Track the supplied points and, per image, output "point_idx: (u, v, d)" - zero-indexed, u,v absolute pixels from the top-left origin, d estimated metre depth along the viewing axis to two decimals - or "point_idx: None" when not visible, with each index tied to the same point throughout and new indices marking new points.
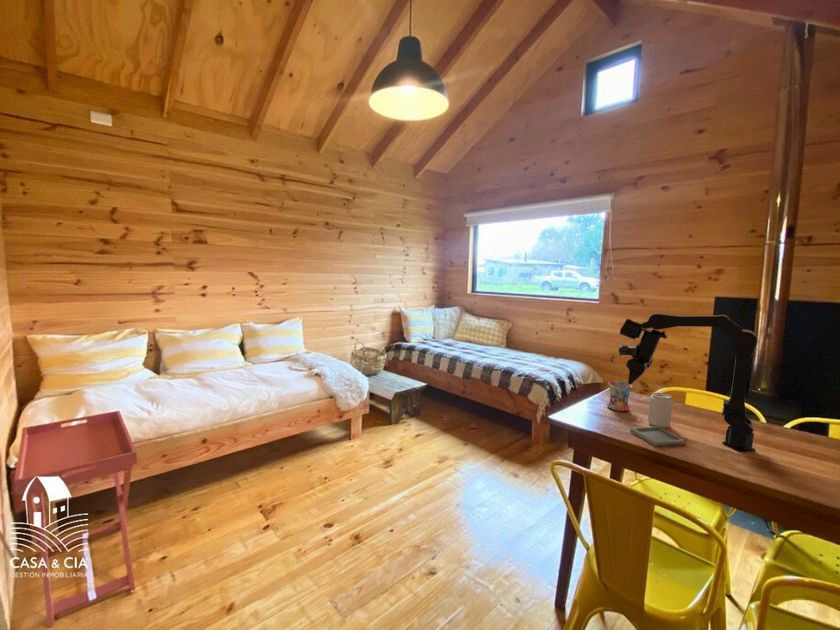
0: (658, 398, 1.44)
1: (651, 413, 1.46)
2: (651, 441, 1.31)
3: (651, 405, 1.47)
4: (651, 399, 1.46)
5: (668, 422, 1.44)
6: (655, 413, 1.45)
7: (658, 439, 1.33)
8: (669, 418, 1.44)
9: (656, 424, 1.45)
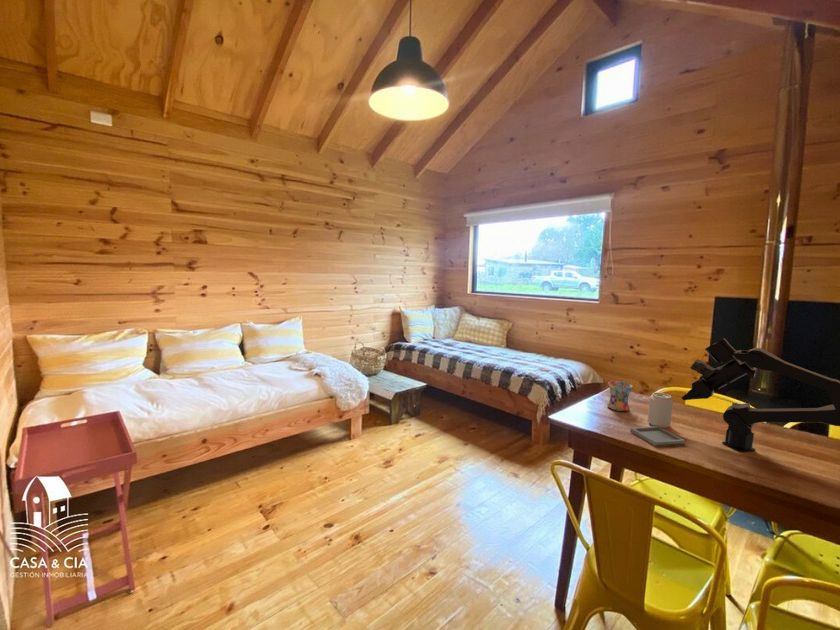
0: (658, 398, 1.44)
1: (651, 413, 1.46)
2: (651, 441, 1.31)
3: (651, 405, 1.47)
4: (651, 399, 1.46)
5: (668, 422, 1.44)
6: (655, 413, 1.45)
7: (658, 439, 1.33)
8: (669, 418, 1.44)
9: (656, 424, 1.45)
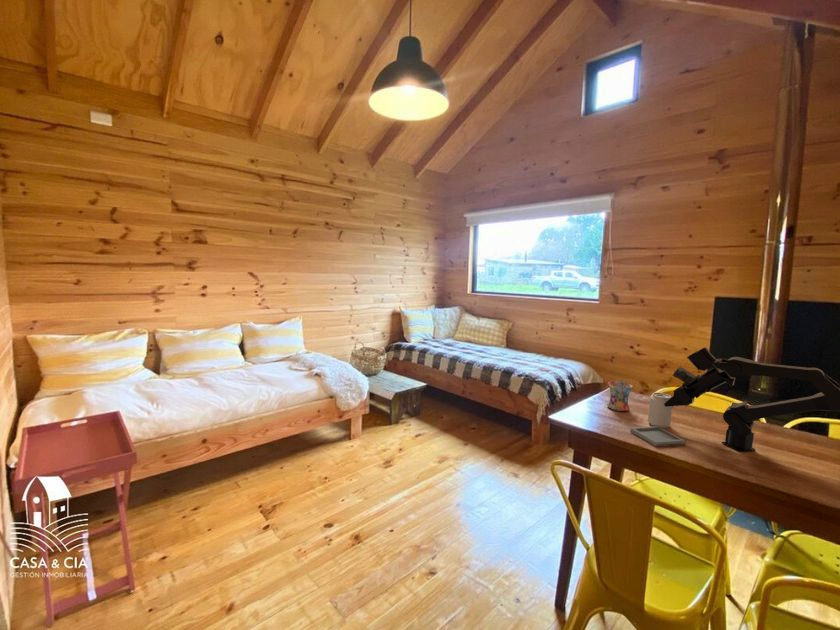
0: (658, 398, 1.44)
1: (651, 413, 1.46)
2: (651, 441, 1.31)
3: (651, 405, 1.47)
4: (651, 399, 1.46)
5: (668, 422, 1.44)
6: (655, 413, 1.45)
7: (658, 439, 1.33)
8: (669, 418, 1.44)
9: (656, 424, 1.45)
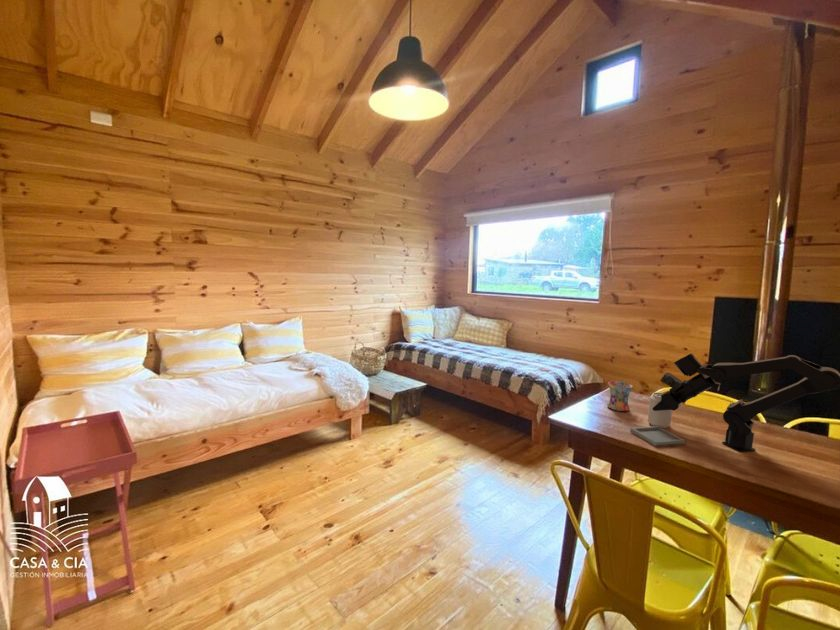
0: (658, 398, 1.44)
1: (651, 413, 1.46)
2: (651, 441, 1.31)
3: (651, 405, 1.47)
4: (651, 399, 1.46)
5: (668, 422, 1.44)
6: (655, 413, 1.45)
7: (658, 439, 1.33)
8: (669, 418, 1.44)
9: (656, 424, 1.45)
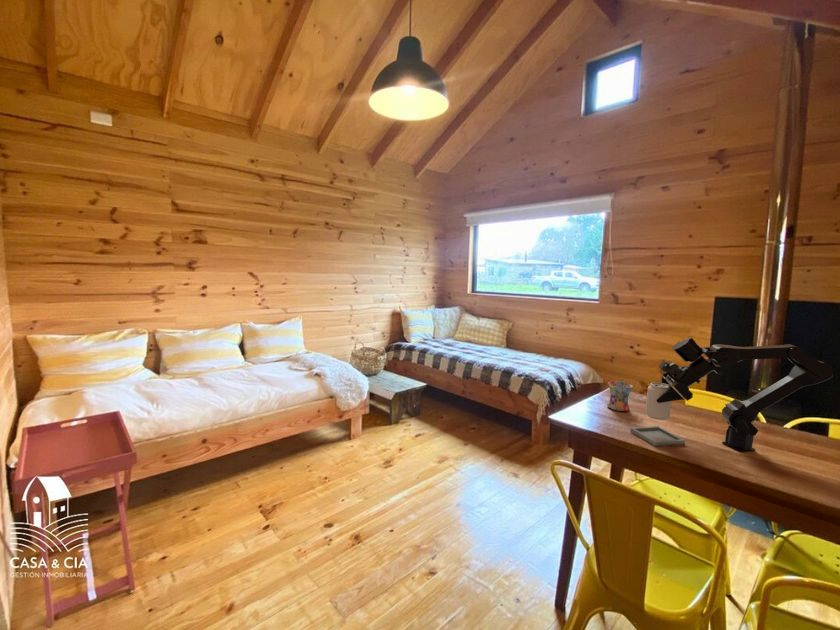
0: (661, 389, 1.34)
1: (653, 406, 1.35)
2: (651, 441, 1.31)
3: (652, 397, 1.35)
4: (652, 391, 1.35)
5: (669, 413, 1.35)
6: (658, 406, 1.34)
7: (658, 439, 1.33)
8: (670, 408, 1.35)
9: (660, 417, 1.34)
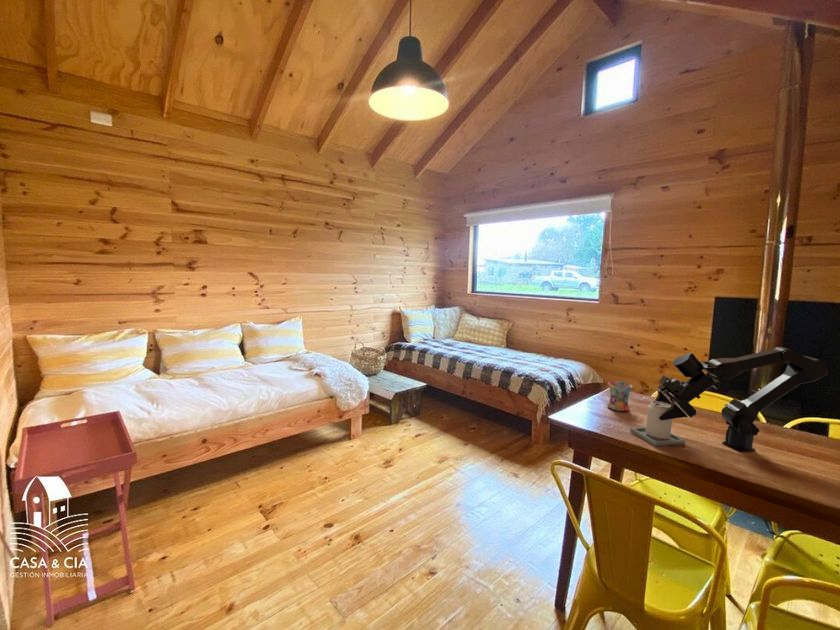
0: (663, 408, 1.32)
1: (655, 426, 1.33)
2: (651, 441, 1.31)
3: (654, 417, 1.33)
4: (654, 410, 1.33)
5: (670, 433, 1.33)
6: (660, 426, 1.32)
7: None
8: None
9: (662, 437, 1.32)
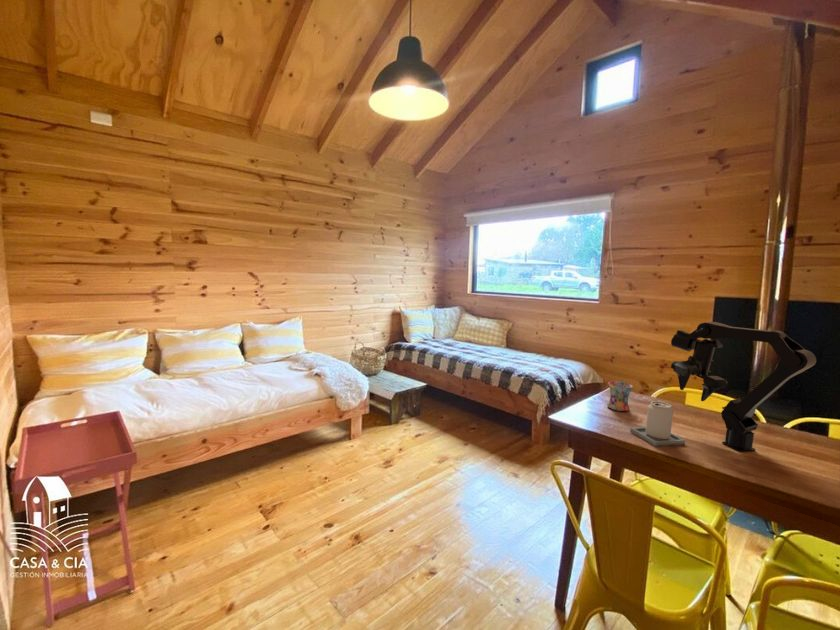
0: (663, 409, 1.31)
1: (655, 426, 1.33)
2: (651, 441, 1.31)
3: (654, 417, 1.33)
4: (654, 411, 1.33)
5: (670, 433, 1.33)
6: (660, 426, 1.32)
7: None
8: None
9: (662, 437, 1.32)
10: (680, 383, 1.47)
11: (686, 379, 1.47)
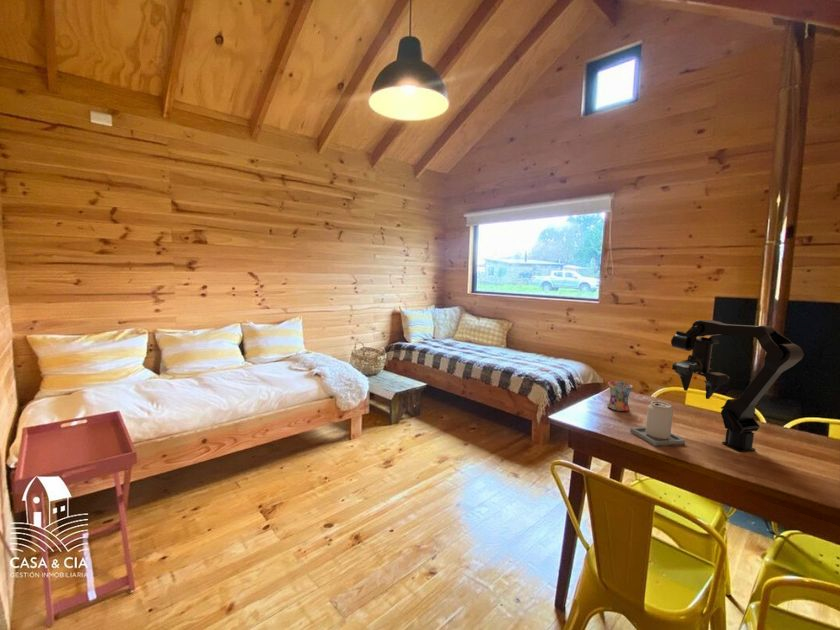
0: (663, 409, 1.31)
1: (655, 426, 1.33)
2: (651, 441, 1.31)
3: (654, 417, 1.33)
4: (654, 411, 1.33)
5: (670, 433, 1.33)
6: (660, 426, 1.32)
7: None
8: None
9: (662, 437, 1.32)
10: (683, 384, 1.49)
11: (689, 379, 1.48)
